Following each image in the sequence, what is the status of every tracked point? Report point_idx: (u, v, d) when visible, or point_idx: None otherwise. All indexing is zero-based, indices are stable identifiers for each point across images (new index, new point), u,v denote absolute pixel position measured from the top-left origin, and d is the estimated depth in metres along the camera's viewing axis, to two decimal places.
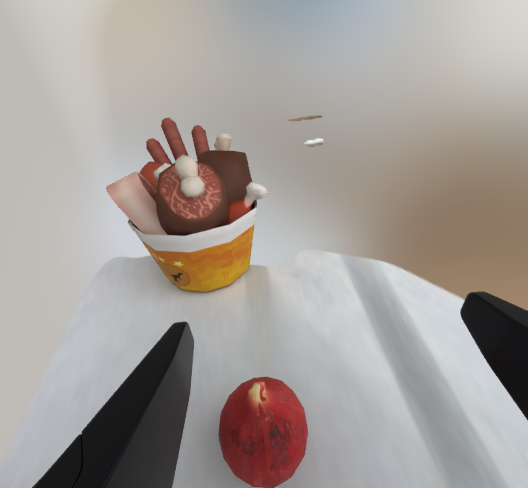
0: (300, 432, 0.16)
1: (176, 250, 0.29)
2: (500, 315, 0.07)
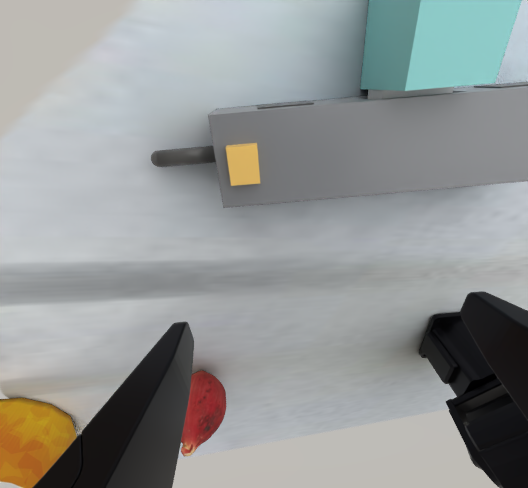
0: (201, 405, 0.25)
1: None
2: (500, 315, 0.07)
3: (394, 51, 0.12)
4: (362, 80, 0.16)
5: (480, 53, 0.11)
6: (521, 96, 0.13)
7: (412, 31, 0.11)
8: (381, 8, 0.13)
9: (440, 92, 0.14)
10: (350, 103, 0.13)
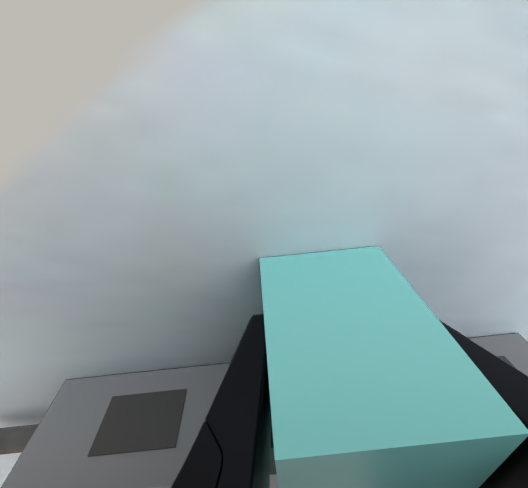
0: None
1: None
2: None
3: None
4: None
5: None
6: None
7: None
8: None
9: None
10: None
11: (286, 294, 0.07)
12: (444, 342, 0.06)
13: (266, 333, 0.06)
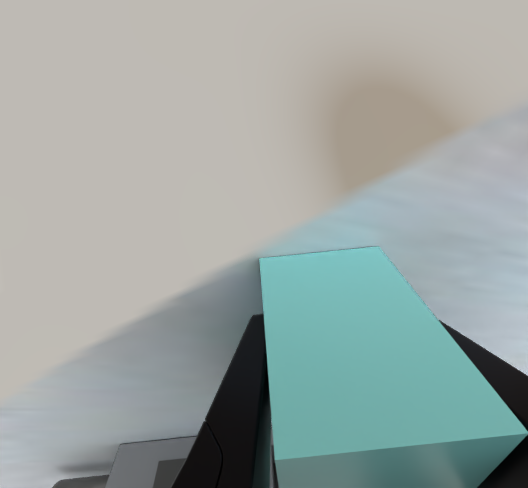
0: None
1: None
2: None
3: None
4: None
5: None
6: None
7: None
8: None
9: None
10: None
11: (286, 294, 0.07)
12: (443, 342, 0.06)
13: (266, 333, 0.06)
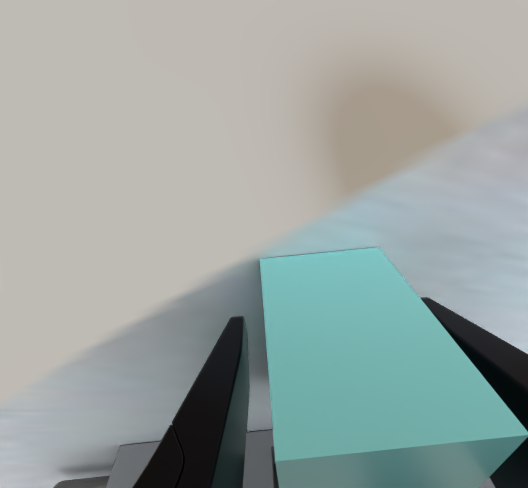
0: None
1: None
2: None
3: None
4: None
5: None
6: None
7: None
8: None
9: None
10: None
11: (287, 295, 0.07)
12: (444, 343, 0.06)
13: (266, 334, 0.06)
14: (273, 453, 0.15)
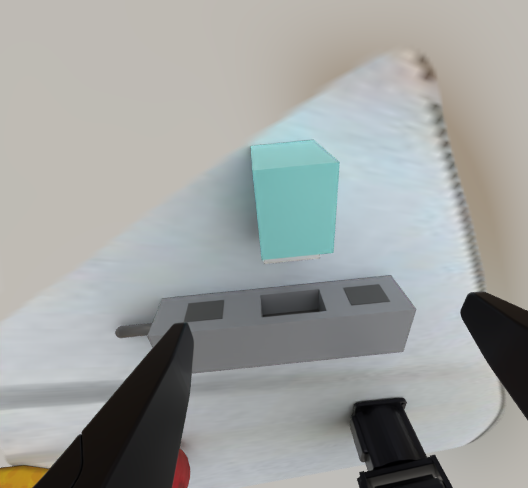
0: None
1: None
2: (500, 315, 0.07)
3: None
4: None
5: (315, 237, 0.14)
6: (360, 318, 0.20)
7: (258, 224, 0.14)
8: None
9: None
10: (243, 326, 0.20)
11: (262, 151, 0.15)
12: (324, 154, 0.14)
13: (252, 157, 0.14)
14: (262, 302, 0.23)
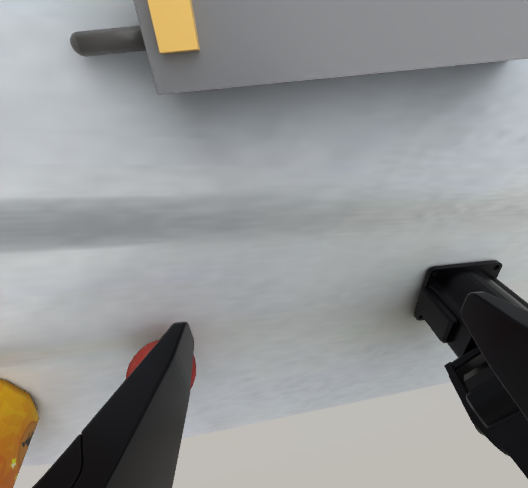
0: None
1: None
2: (500, 315, 0.07)
3: None
4: None
5: None
6: None
7: None
8: None
9: None
10: None
11: None
12: None
13: None
14: None
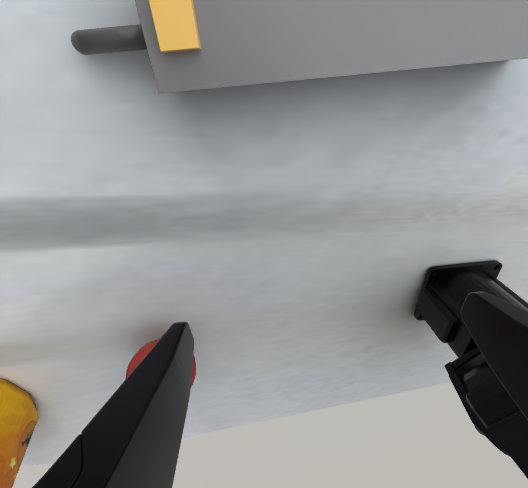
0: None
1: None
2: (500, 315, 0.07)
3: None
4: None
5: None
6: None
7: None
8: None
9: None
10: None
11: None
12: None
13: None
14: None
